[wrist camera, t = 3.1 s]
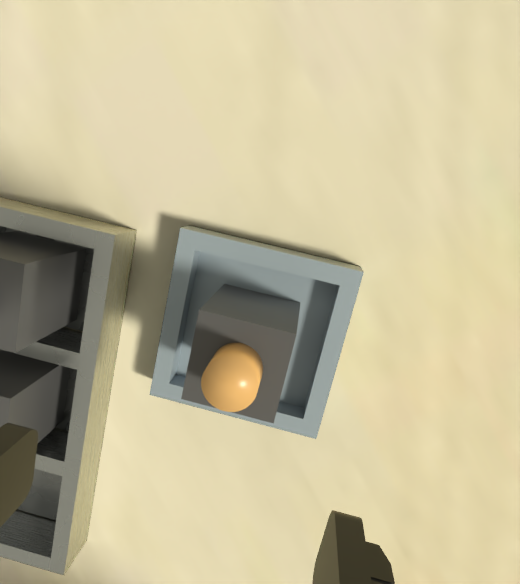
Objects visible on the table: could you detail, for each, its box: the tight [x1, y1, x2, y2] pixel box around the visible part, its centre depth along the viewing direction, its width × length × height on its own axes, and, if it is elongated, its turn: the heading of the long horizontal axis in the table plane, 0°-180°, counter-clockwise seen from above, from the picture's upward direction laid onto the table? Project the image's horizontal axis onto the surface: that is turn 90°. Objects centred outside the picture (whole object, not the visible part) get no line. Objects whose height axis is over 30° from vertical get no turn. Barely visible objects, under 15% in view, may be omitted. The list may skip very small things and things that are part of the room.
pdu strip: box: [0, 197, 137, 575], centre depth 28 cm, size 10×22×3 cm, turn 167°
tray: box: [150, 225, 363, 439], centre depth 26 cm, size 10×10×2 cm
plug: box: [181, 284, 300, 423], centre depth 23 cm, size 4×4×8 cm
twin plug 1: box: [0, 231, 86, 353], centre depth 24 cm, size 4×4×8 cm
